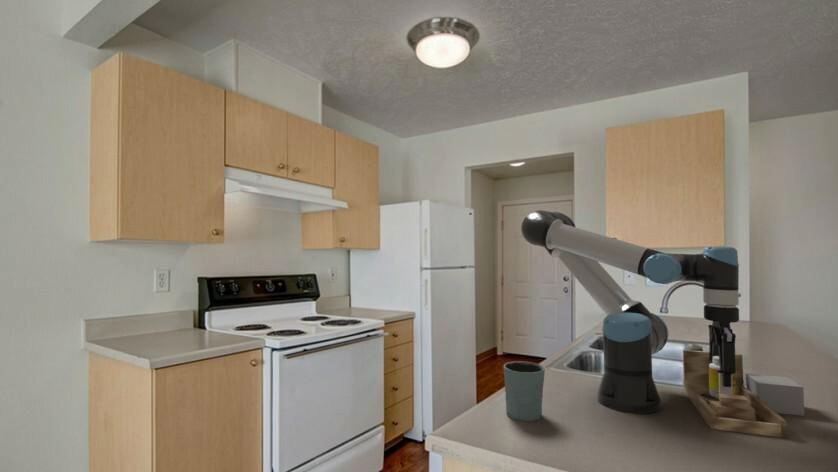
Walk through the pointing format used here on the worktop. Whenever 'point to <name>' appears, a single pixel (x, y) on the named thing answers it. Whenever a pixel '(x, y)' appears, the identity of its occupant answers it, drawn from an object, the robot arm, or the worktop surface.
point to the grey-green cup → (524, 390)
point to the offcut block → (733, 401)
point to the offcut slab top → (732, 411)
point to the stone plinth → (777, 393)
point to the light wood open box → (699, 384)
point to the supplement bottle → (716, 378)
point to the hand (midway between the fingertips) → (722, 394)
